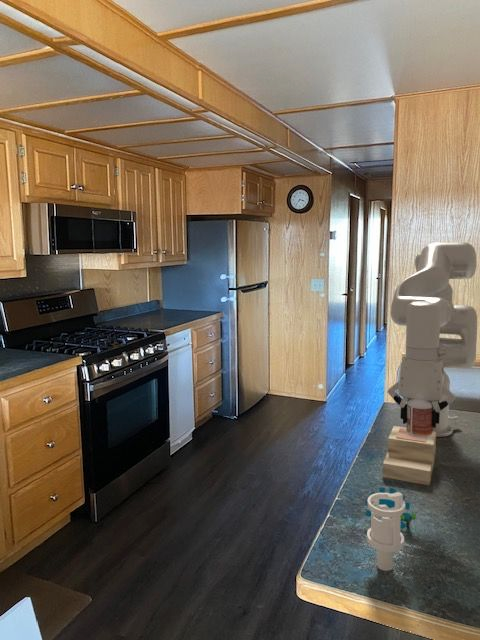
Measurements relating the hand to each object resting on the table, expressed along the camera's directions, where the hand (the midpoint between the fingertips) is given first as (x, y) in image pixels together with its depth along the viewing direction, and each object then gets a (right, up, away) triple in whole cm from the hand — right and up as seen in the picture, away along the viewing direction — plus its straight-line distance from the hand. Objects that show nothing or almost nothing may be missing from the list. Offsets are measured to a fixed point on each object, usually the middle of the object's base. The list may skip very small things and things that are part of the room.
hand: (419, 423), depth 120 cm
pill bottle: (0, -3, 0) cm, 3 cm away
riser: (+4, -16, +18) cm, 25 cm away
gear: (-10, -22, -9) cm, 25 cm away
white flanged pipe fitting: (-15, -24, -23) cm, 36 cm away
